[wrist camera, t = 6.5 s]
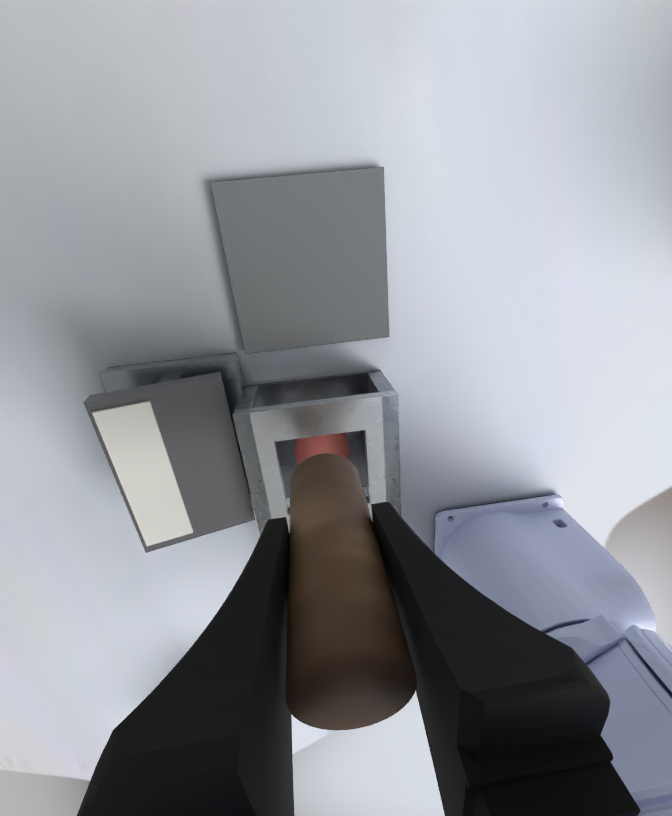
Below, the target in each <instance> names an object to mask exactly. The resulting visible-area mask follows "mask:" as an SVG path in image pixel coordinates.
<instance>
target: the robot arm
mask: <svg viewBox="0 0 672 816" xmlns="http://www.w3.org/2000/svg"><path fill="white" fill-rule="evenodd" d="M563 506H564V499H563V498H562V497H561V496H560V495H551V496H544V497H537V498H530V499H523V500H516V501H509V502H502V503H495V504H488V505H481V506H475V507H468V508H461V509H454V510H447V511H441V512H439V513H438V514H437V515H436V517H435V553H434V552H433V551H432V550H431V549H430V548H429V547H428V546H427V545H426V544H425V543H424V542H423V541H422V540H421V539H420V538H419V537H418V536H417V535H416V534H415V533H414V531H413V530H412V529H411V528H410V527H409V526H408V525H407V523H406V522H405V521H404V520H403V519H402V517H401V516H400V515H399V514H398V512H397V511H396V510H395V508H394V507H393V505H392V504H391V503H390V502H381V503H375V504H371V508H372V521H373V525H374V529H375V532H376V536H377V539H378V543H379V546H380V550H381V553H382V557H383V560H384V564H385V567H386V571H387V574H388V578H389V581H390V585H391V588H392V592H393V595H394V599H395V602H396V606H397V609H398V613H399V616H400V620H401V623H402V627H403V630H404V634H405V637H406V641H407V644H408V648H409V651H410V655H411V658H412V662H413V665H414V669H415V672H416V676H417V687H416V692H417V697H418V701H419V705H420V709H421V713H422V718H423V722H424V726H425V730H426V735H427V739H428V743H429V747H430V752H431V756H432V760H433V764H434V769H435V773H436V778H437V782H438V787H439V791H440V795H441V799H442V804H443V809H444V813H445V816H672V646H671V645H670V644H669V643H668V642H667V641H666V640H665V639H663V638H662V637H661V636H660V635H659V634H658V633H657V632H656V622H655V618H654V614H653V611H652V608H651V606H650V604H649V602H648V600H647V598H646V596H645V594H644V593H643V591H642V589H641V588H640V586H639V585H638V583H637V582H636V580H635V579H634V578H633V577H632V575H631V574H630V573H629V572H628V571H627V570H626V569H625V568H624V567H623V566H622V565H621V564H620V563H619V562H618V561H617V560H616V559H615V558H614V557H613V556H612V555H611V554H610V553H609V552H608V551H607V550H606V549H605V548H604V547H603V546H601V545H600V544H599V543H598V542H597V541H596V540H595V539H594V538H593V537H592V536H591V535H590V534H589V533H588V532H587V531H586V530H585V529H584V528H583V527H582V526H580V525H579V524H578V523H577V522H576V521H575V520H574V519H573V518H572V517H571V516H570V515H569V514H568V513H567V512H566V511H565V510H564V509H563ZM450 516H451V517H450ZM448 517H450V518H448ZM288 572H289V529H288V524H287V519H286V517H282V518H275V519H269V520H268V521H267V522H266V524H265V526H264V529H263V531H262V534H261V536H260V538H259V540H258V543H257V545H256V547H255V549H254V551H253V553H252V555H251V557H250V559H249V561H248V563H247V564H246V566H245V568H244V570H243V572H242V574H241V575H240V577H239V579H238V581H237V582H236V584H235V586H234V587H233V589H232V591H231V592H230V594H229V596H228V597H227V599H226V600H225V602H224V603H223V605H222V606H221V608H220V609H219V611H218V612H217V614H216V615H215V616H214V618H213V619H212V621H211V622H210V623H209V625H208V626H207V627H206V629H205V630H204V631H203V633H202V634H201V635H200V637H199V638H198V639H197V641H196V642H195V643H194V644H193V646H192V647H191V648H190V649H189V651H188V652H187V653H186V654H185V655H184V657H183V658H182V659H181V660H180V661H179V662H178V663H177V665H176V666H175V667H174V668H173V669H172V670H171V671H170V672H169V674H168V675H167V676H166V677H165V678H164V679H163V680H162V682H161V683H160V684H159V685H158V686H157V687H156V688H155V689H154V690H153V691H152V692H151V693H150V694H149V695H148V696H147V697H146V698H145V699H144V700H143V701H142V702H141V703H140V704H139V705H138V706H137V707H136V708H135V709H134V710H133V711H132V712H131V713H130V714H129V715H128V716H127V717H126V718H125V719H124V720H123V721H122V722H121V723H120V724H119V725H118V726H117V727H116V728H115V729H114V730H113V731H112V734H111V736H110V738H109V740H108V742H107V744H106V746H105V748H104V750H103V752H102V754H101V757H100V759H99V761H98V763H97V766H96V768H95V771H94V773H93V776H92V778H91V781H90V783H89V786H88V789H87V791H86V794H85V796H84V799H83V801H82V804H81V807H80V809H79V812H78V814H77V816H294V798H293V766H292V726H291V713H290V711H289V709H288V708H287V704H286V657H287V614H288Z"/></svg>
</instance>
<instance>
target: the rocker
mask: <svg viewBox="0 0 672 816" xmlns="http://www.w3.org/2000/svg"><path fill="white" fill-rule="evenodd" d="M84 405H85V407H86V409H87V412H88V414H89V417H90V419H91V421H92V424H93V426H94V429H95V431H96V433H97V436H98V438H99V441H100V443H101V445H102V448H103V450H104V453H105V455H106V458H107V460H108V462H109V465H110V467H111V470H112V472H113V474H114V477H115V479H116V482H117V484H118V486H119V489H120V491H121V494H122V496H123V498H124V501H125V503H126V506H127V508H128V511H129V513H130V515H131V518H132V520H133V523H134V525H135V527H136V530H137V532H138V535H139V537H140V539H141V542H142V544H143V547H144V549H145V552H146V553H147V552H150V551H153V550H156V549H160V548H163V547H166V546H170V545H173V544H176V543H180V542H183V541H186V540H189V539H193V538H196V537H199V536H203V535H206V534H209V533H213V532H216V531H219V530H222V529H226V528H229V527H232V526H236V525H239V524H242V523H246V522H249V521H252V520H255V517H254V512H253V508H252V504H251V499H250V495H249V491H248V487H247V482H246V478H245V474H244V470H243V466H242V461H241V457H240V453H239V449H238V444H237V440H236V436H235V432H234V427H233V423H232V419H231V415H230V410H229V406H228V402H227V398H226V393H225V389H224V385H223V381H222V376H221V372H215V373H210V374H204V375H199V376H194V377H188V378H183V379H177V380H172V381H166V382H161V383H155V384H150V385H144V386H139V387H133V388H128V389H123V390H117V391H112V392H106V393H101V394H95V395H90V396H89V397H88V398H87V399H86V401H85V402H84Z"/></svg>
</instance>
